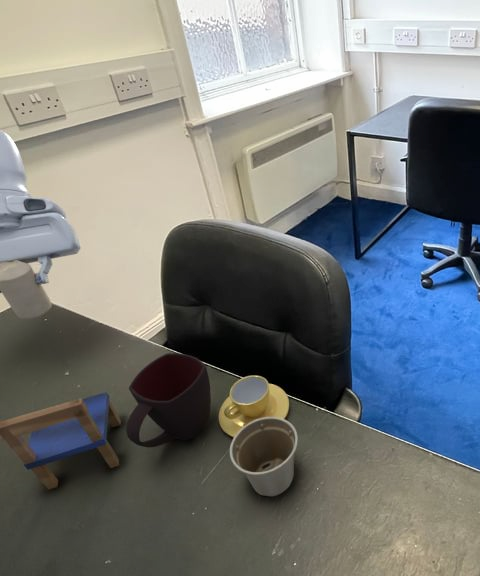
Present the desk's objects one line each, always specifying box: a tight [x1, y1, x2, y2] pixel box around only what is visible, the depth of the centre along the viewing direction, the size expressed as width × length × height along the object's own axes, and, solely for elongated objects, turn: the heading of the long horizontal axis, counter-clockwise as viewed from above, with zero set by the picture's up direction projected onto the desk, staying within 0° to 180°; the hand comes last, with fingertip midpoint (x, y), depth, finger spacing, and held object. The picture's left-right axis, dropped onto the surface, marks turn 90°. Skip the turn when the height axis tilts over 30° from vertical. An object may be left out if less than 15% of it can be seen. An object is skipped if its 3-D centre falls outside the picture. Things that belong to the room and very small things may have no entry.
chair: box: [0, 391, 122, 490], centre depth 67 cm, size 10×10×15 cm
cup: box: [218, 374, 290, 438], centre depth 75 cm, size 12×12×5 cm
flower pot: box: [229, 417, 299, 497], centre depth 65 cm, size 9×9×9 cm
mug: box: [125, 352, 212, 448], centre depth 70 cm, size 10×14×12 cm
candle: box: [0, 260, 53, 320], centre depth 78 cm, size 6×6×10 cm
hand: (20, 288), depth 77 cm, fingers closed on candle, 5 cm apart
